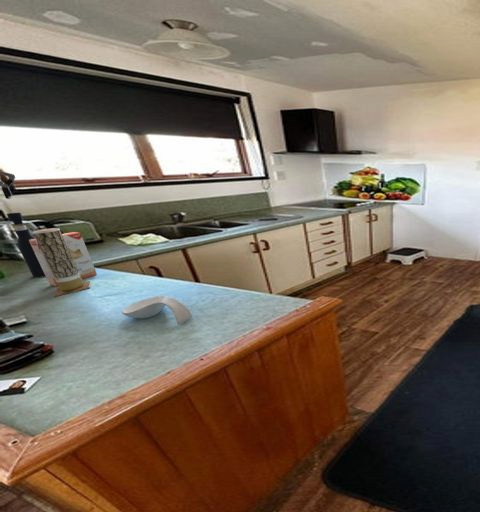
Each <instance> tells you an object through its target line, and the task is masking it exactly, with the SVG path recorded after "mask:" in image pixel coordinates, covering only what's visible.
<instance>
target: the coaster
mask: <svg viewBox="0 0 480 512" xmlns="http://www.w3.org/2000/svg"><path fill="white" fill-rule="evenodd" d="M83 283H84V284H83V286H81V287H79V288H77V289H73V290H68V291H62V290H60V288H59V287H56V288H55V292H54V295H53V296H54V298H56V297H59V296H60V297H61V296H64V295H69V294H73V293H76V292H77V293H78V292H81V291H85V290H90V289H91V280H88V281H83Z"/></svg>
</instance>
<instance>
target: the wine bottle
mask: <svg viewBox="0 0 480 512" xmlns="http://www.w3.org/2000/svg"><path fill="white" fill-rule="evenodd" d="M6 215H7V218H8V220H9V222H12V223H13V225H14V230H15V234H16V236H17V247H18V250H19V251H20V254H21V256H22V258H23V260H24V262H25V264H26V265H27V268H28V269H29V272H30V274H31V275H32V277H33V278H35V277H37V278H43V277H46V276H45V274H44V272H43V269H42V267H41V265H40V263H39V261H38V259H37V257H36V255H35V252H34V250H33V248H32V246H31V244H30V242H29V240H31V239H36V238H35V236H34V235H32V234H31V231H30V230H29V229H28V228H27V225H24V222H23V221H24V220H25V219H24V217H23V215H22V213H21V212H9V213H6ZM42 276H43V277H42Z"/></svg>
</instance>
